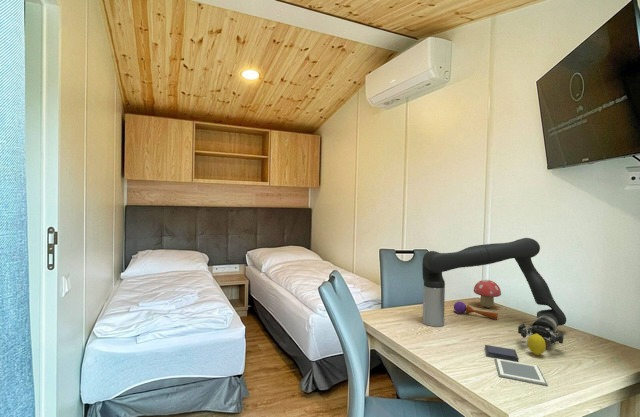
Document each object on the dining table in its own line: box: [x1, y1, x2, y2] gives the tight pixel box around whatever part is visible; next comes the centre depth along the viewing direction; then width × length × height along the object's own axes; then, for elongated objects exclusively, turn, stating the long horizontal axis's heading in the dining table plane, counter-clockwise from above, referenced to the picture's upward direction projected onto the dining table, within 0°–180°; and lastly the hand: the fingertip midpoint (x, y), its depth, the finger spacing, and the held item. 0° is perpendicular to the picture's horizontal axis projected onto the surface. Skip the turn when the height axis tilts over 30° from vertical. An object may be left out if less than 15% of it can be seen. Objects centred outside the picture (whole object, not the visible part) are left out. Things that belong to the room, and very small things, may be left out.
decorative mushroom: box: [473, 279, 502, 309], centre depth 178 cm, size 13×13×15 cm
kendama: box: [453, 300, 499, 321], centre depth 164 cm, size 6×6×20 cm
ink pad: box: [484, 344, 520, 363], centre depth 120 cm, size 10×8×2 cm
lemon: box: [527, 334, 547, 356], centre depth 120 cm, size 6×6×8 cm
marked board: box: [494, 358, 549, 387], centre depth 107 cm, size 13×13×1 cm
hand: (537, 338), depth 121 cm, fingers open, 8 cm apart
